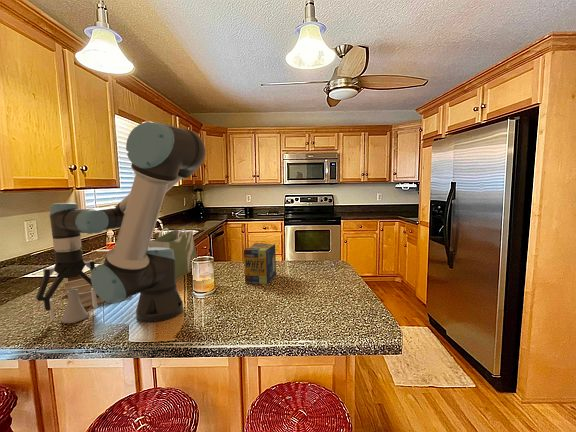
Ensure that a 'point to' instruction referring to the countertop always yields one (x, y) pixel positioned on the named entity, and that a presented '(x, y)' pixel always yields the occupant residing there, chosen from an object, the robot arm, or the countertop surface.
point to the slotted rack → (82, 291)
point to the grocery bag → (178, 248)
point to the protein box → (259, 263)
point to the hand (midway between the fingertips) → (74, 313)
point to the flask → (74, 308)
